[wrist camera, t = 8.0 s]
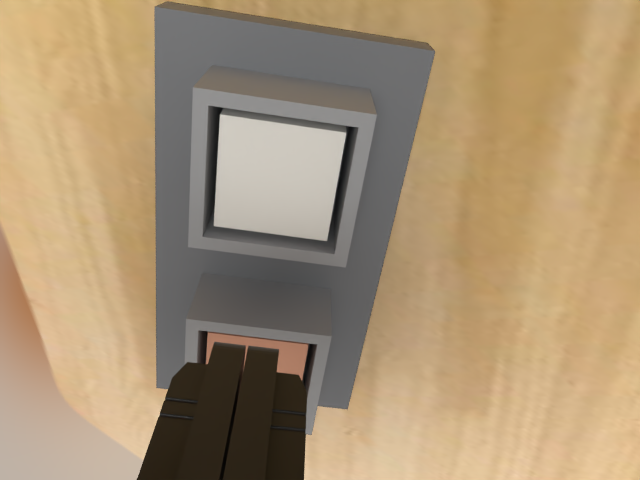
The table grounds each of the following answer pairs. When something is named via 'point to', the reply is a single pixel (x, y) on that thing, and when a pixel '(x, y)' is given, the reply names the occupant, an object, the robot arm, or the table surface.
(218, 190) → the white key
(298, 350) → the terracotta key
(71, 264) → the table surface
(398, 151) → the key panel
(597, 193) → the table surface
